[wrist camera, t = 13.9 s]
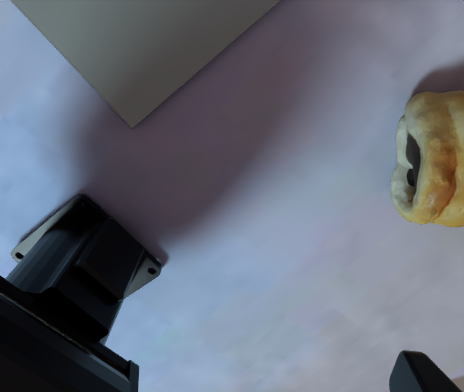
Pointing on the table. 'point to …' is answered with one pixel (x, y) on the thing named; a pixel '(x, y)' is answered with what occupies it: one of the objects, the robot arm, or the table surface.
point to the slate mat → (140, 42)
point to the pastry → (431, 160)
